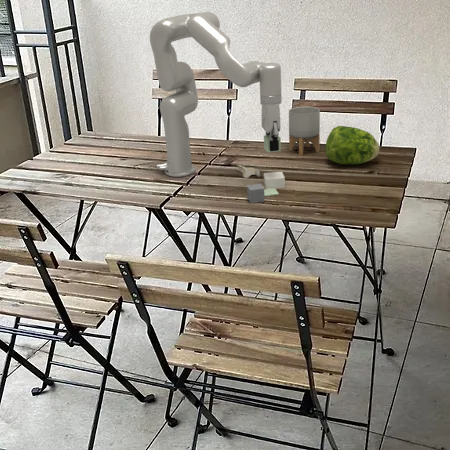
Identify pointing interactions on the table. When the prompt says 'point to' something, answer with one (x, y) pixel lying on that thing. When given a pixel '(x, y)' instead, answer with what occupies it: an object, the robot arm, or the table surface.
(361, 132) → the green rounded lump
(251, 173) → the fossil
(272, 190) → the swatch
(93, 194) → the table surface
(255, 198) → the gray cube
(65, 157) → the table surface
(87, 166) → the table surface
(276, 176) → the base block
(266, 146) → the sage cube
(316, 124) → the planter
